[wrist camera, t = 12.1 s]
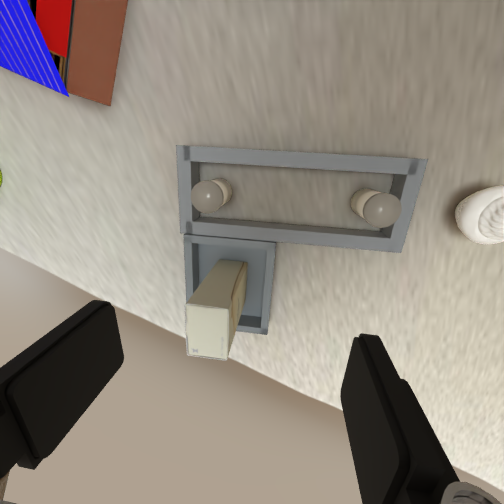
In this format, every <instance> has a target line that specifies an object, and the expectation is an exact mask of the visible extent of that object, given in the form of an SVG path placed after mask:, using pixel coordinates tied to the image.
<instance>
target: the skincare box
mask: <svg viewBox="0 0 504 504" xmlns="http://www.w3.org/2000/svg"><path fill="white" fill-rule="evenodd" d="M247 270H248V263H247V262H240V261H232V260H222V259H219V260H218V261H217V263H216V264H215V265H214V267H213V268H212V269H211V271H210V272H209V273H208V275H207V276H206V277H205V279H204V280H203V281H202V283H201V284H200V285H199V287H198V288H197V289H196V291H195V292H194V293H193V295H192V296H191V297H190V299H189V300H188V301H187V303H186V304H185V331H186V347H187V355H190V356H196V357H202V358H210V359H218V360H227V358H228V355H229V351H230V348H231V344H232V341H233V338H234V335H235V332H236V328H237V325H238V322H239V319H240V316H241V313H242V309H243V306H244V303H245V300H246V288H247Z"/></svg>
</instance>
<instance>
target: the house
mask: <svg viewBox="0 0 504 504" xmlns="http://www.w3.org/2000/svg"><path fill="white" fill-rule="evenodd" d="M127 3H128V0H37V4H36V20H35V18H34V16H33V13H32V0H0V66H1V67H4V68H6V69H8V70H10V71H12V72H15V73H17V74H19V75H21V76H24V77H26V78H28V79H30V80H33V81H35V82H37V83H39V84H42V85H44V86H46V87H48V88H50V89H53V90H55V91H57V92H59V93H62V94H64V95H66V96H68V97H69V95H68V93H67V92H69V93H72V94H75V95H78V96H81V97H84V98H87V99H90V100H93V101H96V102H99V103H102V104H105V105H108V106H110V105H111V99H112V93H113V87H114V81H115V75H116V69H117V63H118V57H119V51H120V45H121V39H122V33H123V27H124V21H125V15H126V9H127ZM50 52H51V53H52V56H51V54H50ZM55 55H57V56H60V63H59V72H58V70H57V68H56V66H55V63H54V60H55ZM63 57H64V61H63ZM62 65H63V72H62ZM61 75H62V79H61Z"/></svg>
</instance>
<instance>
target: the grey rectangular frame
mask: <svg viewBox="0 0 504 504" xmlns="http://www.w3.org/2000/svg"><path fill="white" fill-rule="evenodd" d="M176 153H177V174H178V195H179V216H180V233H185V234H196V235H207V236H219V237H230V238H241V239H252V240H263V241H274V242H285V243H296V244H307V245H318V246H329V247H341V248H352V249H363V250H374V251H385V252H396V253H401V252H402V249H403V245H404V242H405V238H406V235H407V231H408V228H409V224H410V221H411V217H412V214H413V210H414V207H415V203H416V200H417V197H418V193H419V190H420V186H421V183H422V179H423V176H424V172H425V169H426V165H427V162H428V159H416V158H398V157H381V156H363V155H345V154H327V153H309V152H292V151H274V150H256V149H238V148H220V147H202V146H185V145H176ZM199 162H212V163H228V164H244V165H260V166H276V167H293V168H309V169H325V170H341V171H357V172H373V173H389V174H395V176H394V180H393V184H392V188H391V192H390V194H392V195H394V196H396V197H397V198H398V199H399V201H400V202H401V206H402V211H401V214H400V216H399V218H398V219H397V221H396V222H395V223H393V224H392V225H390V226H388V227H384V228H381V232H378V231H366V230H354V229H342V228H330V227H318V226H306V225H294V224H282V223H270V222H258V221H246V220H234V219H222V218H210V217H200V211H198V210H197V209H196V208H195V207H194V205H193V204H192V201H191V191H192V189H193V187H194V186H195V185H196V184H197V183H199Z"/></svg>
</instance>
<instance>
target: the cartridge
mask: <svg viewBox="0 0 504 504" xmlns="http://www.w3.org/2000/svg"><path fill="white" fill-rule="evenodd" d="M351 208H352V210H353V211H354V212H355V213H356V214H358V215H359V216H361V217H362V218H364V219H365V220H366V221H367V222H368V223H369V224H370V225H372V226H374V227H377V228H384V227H388V226H390V225H392V224H393V223H395V222H396V221H397V219H398V218H399V216H400V214H401V211H402V206H401V202H400V201H399V199H398V198H397V197H396V196H394V195H392V194H388V193H381V192H378V191H375V190H371V189H361V190H359V191H357V192H356V193H355V194H354V195H353V197H352V199H351Z"/></svg>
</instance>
